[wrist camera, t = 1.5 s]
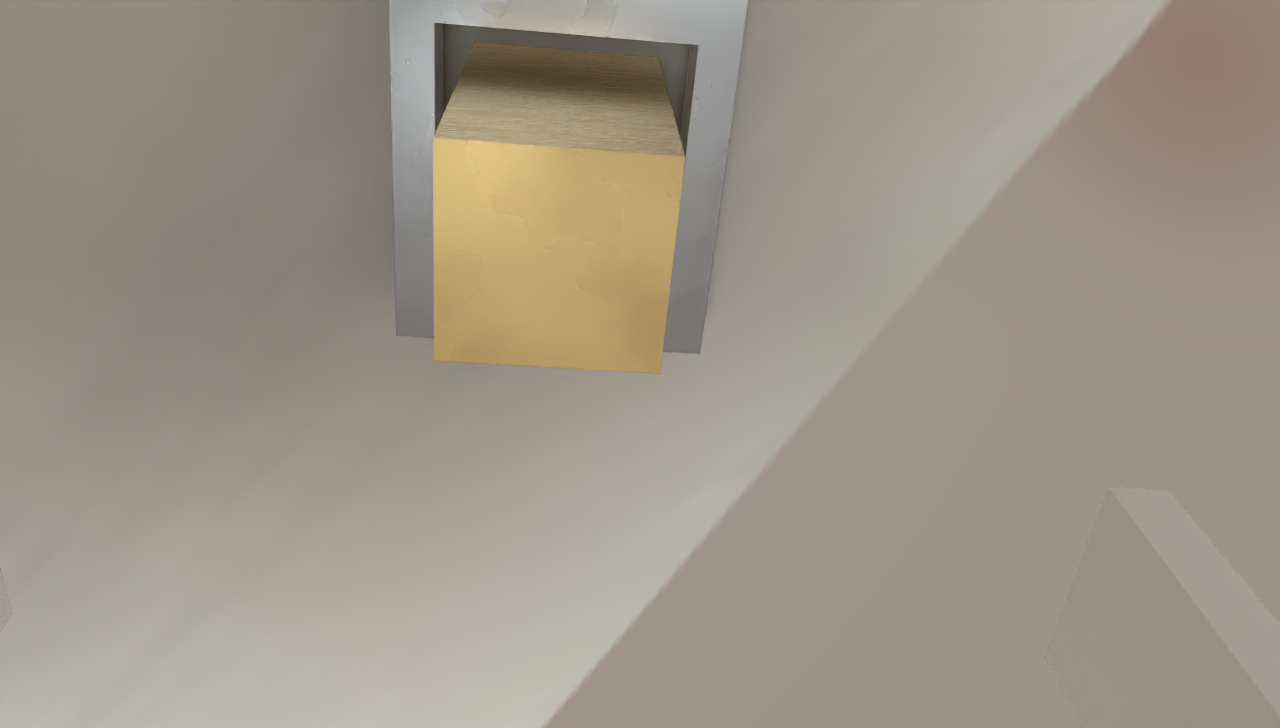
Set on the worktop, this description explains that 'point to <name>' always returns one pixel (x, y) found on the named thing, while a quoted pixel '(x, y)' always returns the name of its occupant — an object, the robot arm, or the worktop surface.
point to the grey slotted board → (581, 5)
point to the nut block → (555, 210)
